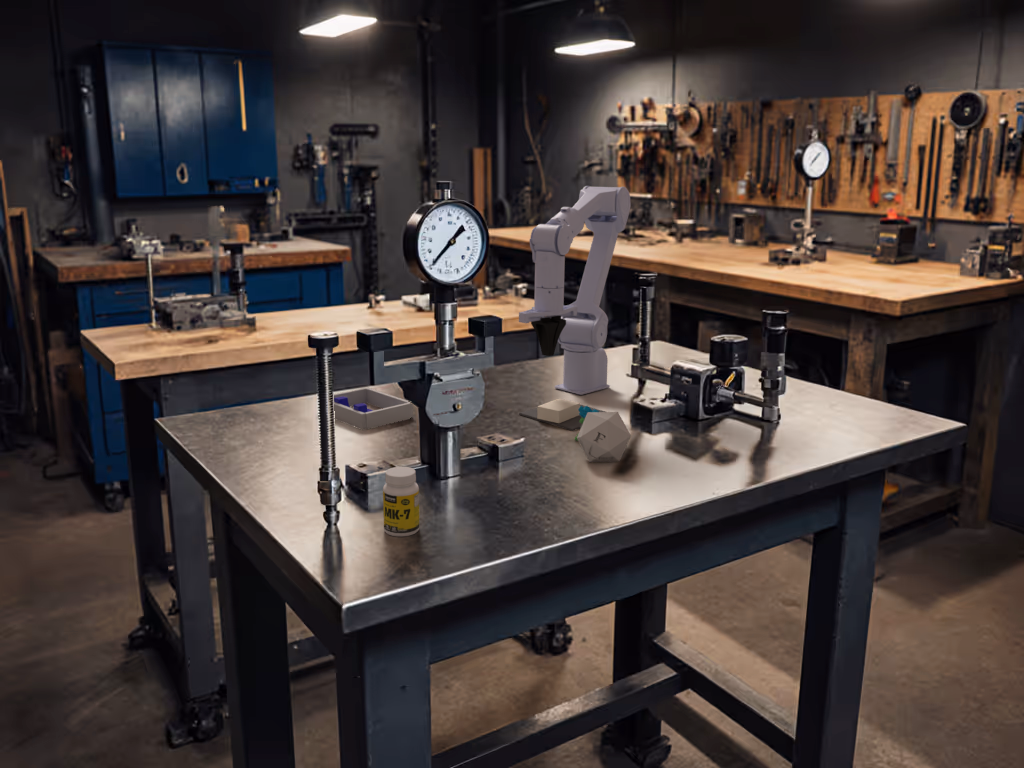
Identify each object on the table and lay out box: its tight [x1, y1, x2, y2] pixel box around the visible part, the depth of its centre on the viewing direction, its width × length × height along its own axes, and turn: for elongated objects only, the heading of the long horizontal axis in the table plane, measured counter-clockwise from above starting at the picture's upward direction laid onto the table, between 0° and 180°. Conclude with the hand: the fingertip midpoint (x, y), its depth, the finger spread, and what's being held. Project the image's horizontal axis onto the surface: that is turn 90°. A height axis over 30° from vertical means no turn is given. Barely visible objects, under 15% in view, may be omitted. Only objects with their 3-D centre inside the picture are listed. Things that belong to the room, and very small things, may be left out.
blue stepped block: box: [334, 396, 374, 413], centre depth 166 cm, size 8×4×4 cm, turn 44°
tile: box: [536, 398, 581, 423], centre depth 167 cm, size 2×5×7 cm
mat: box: [518, 404, 607, 432], centre depth 170 cm, size 13×14×1 cm
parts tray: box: [333, 387, 414, 431], centre depth 169 cm, size 12×16×3 cm
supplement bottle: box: [382, 466, 420, 537], centre depth 117 cm, size 5×5×8 cm
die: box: [576, 411, 632, 463], centre depth 145 cm, size 8×9×10 cm
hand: (547, 355), depth 174 cm, fingers closed
